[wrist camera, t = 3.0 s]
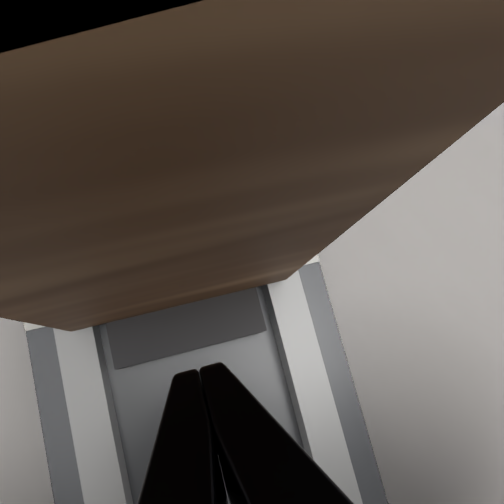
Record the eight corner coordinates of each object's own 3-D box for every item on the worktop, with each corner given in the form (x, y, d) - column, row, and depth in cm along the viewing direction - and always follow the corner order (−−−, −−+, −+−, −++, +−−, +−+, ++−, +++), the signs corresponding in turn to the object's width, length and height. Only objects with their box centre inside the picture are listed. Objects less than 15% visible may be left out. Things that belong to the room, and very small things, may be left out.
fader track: (408, 627, 15) (451, 680, 12) (112, 742, 13) (94, 830, 11) (247, 55, 18) (256, 9, 16) (0, 93, 17) (-33, 49, 14)
